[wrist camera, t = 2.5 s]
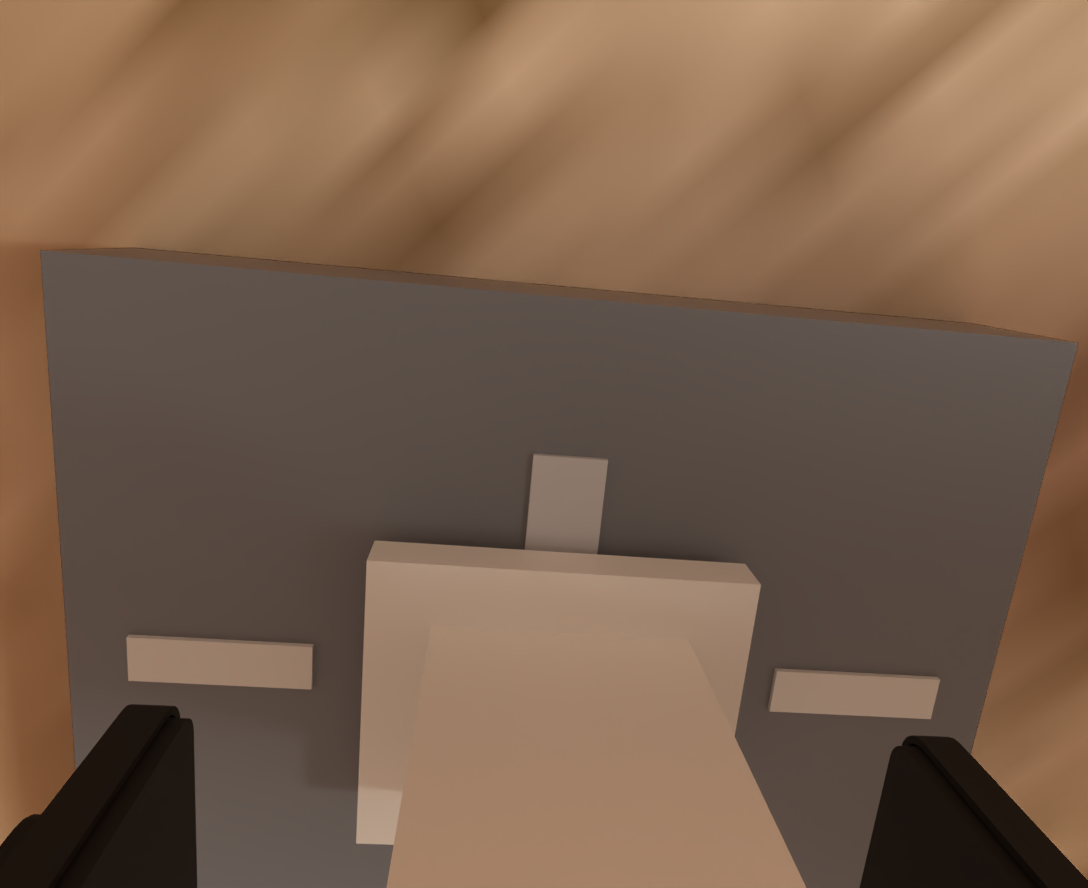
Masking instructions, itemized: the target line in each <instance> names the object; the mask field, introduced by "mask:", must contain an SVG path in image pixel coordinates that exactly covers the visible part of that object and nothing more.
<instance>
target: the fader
mask: <svg viewBox="0 0 1088 888" xmlns="http://www.w3.org/2000/svg"><path fill="white" fill-rule="evenodd" d="M760 588H761V584H760V583H759V581H758V580H757V579H756V577H755V576H754V575H753V573H752V572H751V571H750V569H749V568H748V567H747V566H746V564H741V563H725V562H709V561H693V560H678V559H662V558H646V557H630V556H614V555H598V554H582V553H567V552H551V551H535V550H519V549H503V548H487V547H471V546H456V545H440V544H424V543H408V542H392V541H376V540H375V541H374V544H373V546H372V549H371V551H370V554H369V556H368V559H367V565H366V592H365V619H364V645H363V672H362V699H361V726H360V752H359V779H358V806H357V832H356V844H386V845H394V846H393V852H392V858H391V864H390V870H389V875H388V881H387V887H386V888H806V886H805V884H804V882H803V880H802V877H801V875H800V873H799V871H798V869H797V867H796V865H795V863H794V861H793V858H792V856H791V854H790V852H789V850H788V848H787V846H786V844H785V842H784V840H783V837H782V835H781V833H780V831H779V829H778V827H777V825H776V823H775V821H774V819H773V816H772V814H771V812H770V810H769V808H768V806H767V804H766V802H765V800H764V797H763V795H762V793H761V791H760V789H759V787H758V785H757V783H756V781H755V779H754V776H753V774H752V772H751V770H750V768H749V766H748V764H747V762H746V760H745V758H744V755H743V753H742V751H741V749H740V747H739V745H738V743H737V741H736V739H735V731H736V726H737V720H738V714H739V708H740V703H741V697H742V691H743V685H744V680H745V674H746V668H747V662H748V657H749V651H750V645H751V639H752V634H753V628H754V622H755V617H756V611H757V605H758V599H759V594H760Z"/></svg>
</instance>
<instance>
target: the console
mask: <svg viewBox="0 0 1088 888" xmlns="http://www.w3.org/2000/svg"><path fill="white" fill-rule="evenodd" d="M40 253H41V267H42V282H43V297H44V312H45V327H46V342H47V356H48V371H49V386H50V401H51V416H52V430H53V445H54V460H55V475H56V490H57V505H58V519H59V534H60V549H61V564H62V579H63V594H64V608H65V623H66V638H67V653H68V668H69V683H70V697H71V712H72V727H73V742H74V757H75V770H76V769H77V768H78V767H79V765H80V764H81V763H82V761H83V760H84V759H85V758H86V756H87V755H88V754H89V752H90V751H91V750H92V748H93V747H94V746H95V745H96V743H97V742H98V741H99V739H100V738H101V737H102V736H103V734H104V733H105V732H106V730H107V729H108V728H109V727H110V725H111V724H112V723H113V721H114V720H115V719H116V717H117V716H118V715H119V714H120V712H121V711H122V710H123V709H124V708H125V707H126V706H127V705H130V704H141V705H166V706H176V707H177V708H178V710H179V713H180V718H190V719H191V720H192V722H193V727H194V761H195V804H196V847H197V888H386V887H387V881H388V875H389V870H390V864H391V858H392V852H393V846H394V845H386V844H356V832H357V806H358V779H359V752H360V726H361V699H362V672H363V645H364V619H365V592H366V565H367V559H368V556H369V554H370V551H371V549H372V546H373V544H374V541H375V540H376V541H392V542H408V543H424V544H440V545H456V546H471V547H487V548H503V549H519V550H535V551H551V552H567V553H582V554H598V555H614V556H630V557H646V558H662V559H678V560H693V561H709V562H725V563H741V564H746V566H747V567H748V568H749V569H750V571H751V572H752V573H753V575H754V576H755V577H756V579H757V580H758V581H759V583H760V584H761V588H760V594H759V599H758V605H757V611H756V617H755V622H754V628H753V634H752V639H751V645H750V651H749V657H748V662H747V668H746V674H745V680H744V685H743V691H742V697H741V703H740V708H739V714H738V720H737V726H736V731H735V739H736V741H737V743H738V745H739V747H740V749H741V751H742V753H743V755H744V758H745V760H746V762H747V764H748V766H749V768H750V770H751V772H752V774H753V776H754V779H755V781H756V783H757V785H758V787H759V789H760V791H761V793H762V795H763V797H764V800H765V802H766V804H767V806H768V808H769V810H770V812H771V814H772V816H773V819H774V821H775V823H776V825H777V827H778V829H779V831H780V833H781V835H782V837H783V840H784V842H785V844H786V846H787V848H788V850H789V852H790V854H791V856H792V858H793V861H794V863H795V865H796V867H797V869H798V871H799V873H800V875H801V877H802V880H803V882H804V884H805V886H806V888H860V883H861V879H862V875H863V871H864V866H865V862H866V858H867V853H868V849H869V845H870V840H871V836H872V832H873V828H874V823H875V819H876V815H877V810H878V806H879V802H880V797H881V793H882V789H883V785H884V780H885V776H886V772H887V767H888V763H889V759H890V755H891V752H892V750H893V749H894V748H895V747H897V746H901V745H902V743H903V741H904V740H905V739H906V737H908V736H911V735H916V736H941V737H951V738H954V739H955V740H957V741H958V742H959V743H960V744H961V745H962V746H963V747H964V748H965V749H966V750H967V751H968V752H969V753H970V754H971V751H972V747H973V743H974V739H975V735H976V732H977V728H978V724H979V720H980V716H981V712H982V709H983V705H984V701H985V697H986V693H987V690H988V686H989V682H990V678H991V674H992V671H993V667H994V663H995V659H996V655H997V651H998V648H999V644H1000V640H1001V636H1002V632H1003V629H1004V625H1005V621H1006V617H1007V613H1008V610H1009V606H1010V602H1011V598H1012V594H1013V590H1014V587H1015V583H1016V579H1017V575H1018V571H1019V568H1020V564H1021V560H1022V556H1023V552H1024V549H1025V545H1026V541H1027V537H1028V533H1029V529H1030V526H1031V522H1032V518H1033V514H1034V510H1035V507H1036V503H1037V499H1038V495H1039V491H1040V487H1041V484H1042V480H1043V476H1044V472H1045V468H1046V465H1047V461H1048V457H1049V453H1050V449H1051V446H1052V442H1053V438H1054V434H1055V430H1056V426H1057V423H1058V419H1059V415H1060V411H1061V407H1062V404H1063V400H1064V396H1065V392H1066V388H1067V385H1068V381H1069V377H1070V373H1071V369H1072V365H1073V362H1074V358H1075V354H1076V350H1077V346H1078V343H1076V342H1071V341H1065V340H1060V339H1054V338H1049V337H1043V336H1038V335H1032V334H1027V333H1022V332H1016V331H1011V330H1005V329H1000V328H994V327H989V326H983V325H978V324H972V323H963V322H952V321H941V320H930V319H919V318H908V317H897V316H886V315H875V314H864V313H852V312H841V311H830V310H819V309H808V308H797V307H786V306H775V305H764V304H753V303H742V302H730V301H719V300H708V299H697V298H686V297H675V296H664V295H653V294H642V293H631V292H619V291H608V290H597V289H586V288H575V287H564V286H553V285H542V284H531V283H520V282H509V281H497V280H486V279H475V278H464V277H453V276H442V275H431V274H420V273H409V272H398V271H387V270H375V269H364V268H353V267H342V266H331V265H320V264H309V263H298V262H287V261H276V260H264V259H253V258H242V257H231V256H220V255H209V254H198V253H187V252H176V251H165V250H154V249H142V248H105V249H71V250H40Z"/></svg>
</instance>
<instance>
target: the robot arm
mask: <svg viewBox="0 0 1088 888" xmlns="http://www.w3.org/2000/svg"><path fill="white" fill-rule="evenodd" d="M0 888H197V847H196V804H195V761H194V727H193V722H192V720H191V719H190V718H180V713H179V710H178V708H177V707H176V706H166V705H141V704H130V705H127V706H126V707H125V708H124V709H123V710H122V711H121V712H120V714H119V715H118V716H117V717H116V719H115V720H114V721H113V723H112V724H111V725H110V727H109V728H108V729H107V730H106V732H105V733H104V734H103V736H102V737H101V738H100V739H99V741H98V742H97V743H96V745H95V746H94V747H93V748H92V750H91V751H90V752H89V754H88V755H87V756H86V758H85V759H84V760H83V761H82V763H81V764H80V765H79V767H78V768H77V769H76V770H75V772H74V773H73V774H72V776H71V777H70V778H69V779H68V781H67V782H66V783H65V785H64V786H63V787H62V788H61V790H60V791H59V792H58V794H57V795H56V796H55V798H54V799H53V800H52V801H51V803H50V804H49V805H48V807H47V808H46V809H45V810H44V812H43V813H42V814H41V815H39V814H33V815H31V816H29V817H27V818H25V819H23V820H22V821H21V822H20V823H19V824H18V825H17V826H16V827H15V828H14V829H13V831H12V832H11V833H10V834H9V836H8V837H7V838H6V839H5V841H4V842H3V843H2V844H1V846H0ZM860 888H1088V880H1087V879H1086V878H1085V877H1084V876H1083V875H1082V874H1081V873H1080V872H1079V871H1078V870H1077V869H1076V868H1075V866H1074V865H1073V864H1072V863H1071V862H1070V861H1069V860H1068V859H1067V858H1066V857H1065V856H1064V855H1063V854H1062V852H1061V851H1060V850H1059V849H1058V848H1057V847H1056V846H1055V845H1054V844H1053V843H1052V842H1051V841H1050V840H1049V838H1048V837H1047V836H1046V835H1045V834H1044V833H1043V832H1042V831H1041V830H1040V829H1039V828H1038V827H1037V826H1036V824H1035V823H1034V822H1033V821H1032V820H1031V819H1030V818H1029V817H1028V816H1027V815H1026V814H1025V813H1024V812H1023V810H1022V809H1021V808H1020V807H1019V806H1018V805H1017V804H1016V803H1015V802H1014V801H1013V800H1012V799H1011V798H1010V797H1009V795H1008V794H1007V793H1006V792H1005V791H1004V790H1003V789H1002V788H1001V787H1000V786H999V785H998V784H997V783H996V781H995V780H994V779H993V778H992V777H991V776H990V775H989V774H988V773H987V772H986V771H985V770H984V769H983V767H982V766H981V765H980V764H979V763H978V762H977V761H976V760H975V759H974V758H973V757H972V756H971V755H970V753H969V752H968V751H967V750H966V749H965V748H964V747H963V746H962V745H961V744H960V743H959V742H958V741H957V740H955V739H954V738H951V737H941V736H916V735H911V736H908V737H906V739H905V740H904V741H903V743H902V745H901V746H897V747H895V748H894V749H893V750H892V752H891V755H890V759H889V763H888V767H887V772H886V776H885V780H884V785H883V789H882V793H881V797H880V802H879V806H878V810H877V815H876V819H875V823H874V828H873V832H872V836H871V840H870V845H869V849H868V853H867V858H866V862H865V866H864V871H863V875H862V879H861V883H860Z"/></svg>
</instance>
